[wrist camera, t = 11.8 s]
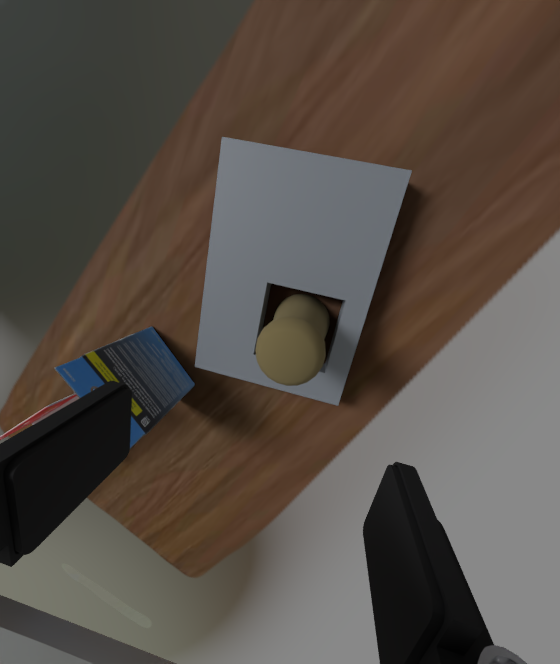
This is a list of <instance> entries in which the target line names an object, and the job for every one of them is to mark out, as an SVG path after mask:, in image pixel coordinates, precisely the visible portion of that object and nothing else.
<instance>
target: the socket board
mask: <svg viewBox="0 0 560 664" xmlns="http://www.w3.org/2000/svg"><path fill="white" fill-rule="evenodd" d="M411 172H412V171H411V170H405V169H400V168H394V167H389V166H383V165H377V164H372V163H366V162H361V161H355V160H349V159H344V158H338V157H332V156H327V155H321V154H316V153H310V152H304V151H299V150H293V149H288V148H282V147H276V146H271V145H265V144H260V143H254V142H248V141H243V140H237V139H232V138H226V137H222V141H221V150H220V158H219V167H218V175H217V183H216V192H215V200H214V209H213V217H212V225H211V234H210V242H209V251H208V259H207V267H206V276H205V284H204V293H203V301H202V309H201V318H200V326H199V335H198V343H197V351H196V360H195V367H197V368H201V369H205V370H208V371H212V372H216V373H219V374H223V375H227V376H230V377H234V378H238V379H241V380H245V381H249V382H252V383H256V384H260V385H263V386H267V387H271V388H275V389H278V390H282V391H286V392H289V393H293V394H297V395H300V396H304V397H308V398H311V399H315V400H319V401H322V402H326V403H330V404H334V405H337V406H338V404H339V401H340V398H341V395H342V392H343V389H344V385H345V382H346V379H347V376H348V373H349V369H350V366H351V363H352V360H353V357H354V354H355V350H356V347H357V344H358V341H359V338H360V334H361V331H362V328H363V325H364V322H365V318H366V315H367V312H368V309H369V306H370V303H371V299H372V296H373V293H374V290H375V287H376V283H377V280H378V277H379V274H380V271H381V268H382V264H383V261H384V258H385V255H386V252H387V248H388V245H389V242H390V239H391V236H392V233H393V229H394V226H395V223H396V220H397V217H398V213H399V210H400V207H401V204H402V201H403V198H404V194H405V191H406V188H407V185H408V182H409V178H410V175H411ZM271 284H276V285H281V286H285V287H289V288H293V289H298V290H302V291H306V292H311V293H315V294H319V295H324V296H328V297H332V298H337V299H341V300H343V302H342V306H341V309H340V313H339V316H338V320H337V324H336V327H335V331H334V334H333V338H332V341H331V345H330V348H329V352H328V355H327V359H326V363H325V364H323V366H322V368H321V369H320V371H319V372H318V374H317V375H316V376H315V377H314V378H312V379H311V380H310V381H308V382H307V383H304V384H301V385H298V386H286V385H282V384H279V383H276V382H274V381H273V380H271V379H269V378H268V377H267V376H266V375H265V374H264V373H263V372H262V370H261V369H260V367H259V365H258V362H257V359H256V352H255V349H256V343H257V338H258V337H259V335H260V333H261V331H262V330H263V325H264V320H265V314H266V309H267V304H268V299H269V294H270V289H271Z"/></svg>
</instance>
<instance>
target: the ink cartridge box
mask: <svg viewBox="0 0 560 664" xmlns="http://www.w3.org/2000/svg"><path fill="white" fill-rule="evenodd" d="M77 399H79V397H78V396H77V395H76V394H73V395H70V396H68V397H66V398H64V399H62V400H59V401H57V402H55V403H53V404H51V405H48V406H46V407H45V408H43V409H42V410H40V411H39V412H37V413H36V414H34V415H33V416H31V417H29V418H28V419H26V420H25V421H23V422H22V423H20V424H18V425H17V426H15V427H14V428H12V429H11V430H9V431H8V432H6V433H5V434H3V435H2V436H0V440H1V439H3V438H5V437H7V436H8V435H10V434H12V433H14V432H16V431H17V430H19V429H21V428H23V427H25V426H27V425H29V424H31V423H32V424H33V425H34V424H36V423H37V422H39V421H41V420H43V419H44V418H46V417H48V416H50V415H51V414H53V413H55V412H57V411H58V410H60V409H62V408H64V407H65V406H67V405H69V404H70V403H72V402H74V401H76V400H77Z"/></svg>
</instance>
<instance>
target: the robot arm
mask: <svg viewBox="0 0 560 664" xmlns="http://www.w3.org/2000/svg"><path fill="white" fill-rule="evenodd" d="M131 408H132V391H131V390H129V386H128V385H126V384H123V383H119V382H116V381H109V382H107V383H105V384H103V385H102V386H100V387H98V388H96V389H95V390H93V391H91V392H90V393H88V394H86V395H84V396H83V397H81V398H79V399H77V400H76V401H74V402H72V403H70V404H69V405H67V406H65V407H64V408H62V409H60V410H58V411H57V412H55V413H53V414H51V415H50V416H48V417H46V418H44V419H43V420H41V421H39V422H37V423H36V424H34V425H32V426H31V427H29V428H27V429H25V430H24V431H22V432H20V433H18V434H17V435H15V436H13V437H11V438H10V439H8V440H6V441H4V442H3V443H1V444H0V563H3V564H6V565H8V566H10V567H12V566H13V565H14V564H15V563H16V562H17V561H18V560H19V559H20V558H21V557H22V556H23V555H26V554H29V553H31V552H32V551H33V550H35V549H36V548H37V547H38V546H39V545H40V544H41V543H42V542H43V541H44V540H45V539H46V538H47V537H48V536H49V535H50V534H51V533H52V532H53V531H54V530H55V529H56V528H57V527H58V526H59V525H60V524H61V523H62V522H63V521H64V520H65V519H66V517H68V515H70V514H71V513H72V511H74V510H75V509H76V508H77V507H78V506H79V505H80V503H82V502H83V501H84V499H86V498H87V496H88V495H89V494H90V493H91V492H92V491H93V490H94V489H95V488H96V487H97V486H98V485H99V484H100V483H101V482H102V481H103V480H104V479H105V478H106V477H107V476H108V475H109V474H110V473H111V472H112V471H113V470H114V469H115V468H116V467H117V466H118V465H119V464H120V463H121V462H122V461H123V460H124V459H125V458H126V457H127V455H128V453H129V450H130V434H131ZM363 537H364V544H365V552H366V559H367V567H368V575H369V582H370V590H371V598H372V605H373V613H374V621H375V629H376V636H377V643H378V651H379V659H380V664H527V663H526V662H525V661H523V660H522V659H521V658H520V657H519V656H517V655H516V654H514V653H512V652H511V651H509V650H507V649H506V648H504V647H499V646H495V645H494V644H493V642H492V639H491V637H490V634H489V632H488V630H487V628H486V625H485V623H484V621H483V618H482V616H481V614H480V611H479V609H478V607H477V604H476V602H475V600H474V597H473V595H472V593H471V590H470V588H469V586H468V583H467V581H466V579H465V576H464V574H463V572H462V569H461V567H460V565H459V562H458V560H457V558H456V555H455V553H454V551H453V548H452V546H451V544H450V541H449V539H448V537H447V534H446V533H445V530H444V528H443V526H442V524H441V523H440V522H439V521H438V520H437V518H436V516H435V513H434V511H433V508H432V506H431V504H430V501H429V499H428V497H427V494H426V492H425V490H424V487H423V485H422V483H421V480H420V477H419V475H418V473H417V470H416V469H415V468H414V467H413V466H409V465H406V464H402V463H399V462H395V463H394V464H393V465H388V466H387V468H386V471H385V473H384V476H383V478H382V480H381V483H380V485H379V488H378V490H377V493H376V495H375V497H374V500H373V502H372V505H371V507H370V510H369V512H368V514H367V517H366V519H365V522H364V526H363ZM0 664H176V663H173V662H171V661H168V660H165V659H163V658H160V657H158V656H155V655H153V654H150V653H148V652H145V651H143V650H140V649H138V648H135V647H133V646H130V645H127V644H125V643H122V642H120V641H117V640H115V639H112V638H109V637H107V636H105V635H102V634H99V633H97V632H94V631H91V630H89V629H87V628H84V627H82V626H79V625H77V624H74V623H71V622H69V621H66V620H63V619H61V618H58V617H56V616H53V615H50V614H48V613H45V612H43V611H40V610H37V609H35V608H32V607H30V606H27V605H25V604H22V603H19V602H17V601H14V600H12V599H9V598H7V597H4V596H1V595H0Z"/></svg>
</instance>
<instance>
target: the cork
mask: <svg viewBox="0 0 560 664" xmlns="http://www.w3.org/2000/svg"><path fill="white" fill-rule="evenodd" d="M329 326H330V319H329V314H328V311H327V309H326V307H325V306H324V305H323V303H322V302H321V301H320V300H318V299H317V298H315V297H313V296H311V295H307V294H295V295H292V296H290V297H287V298H286V299H285V300H283V301H282V302H281V303H280V304H279V306H278V308H277V309H276V311H275V315H274V319H273V321H271V322H270V323H269V324H268V325H267V326H266V327H264V329H263V330H262V331H261V333H260V335H259V337H258V338H257V343H256V349H255V352H256V359H257V362H258V365H259V367H260V369H261V370H262V372H263V373H264V374H265V375H266V376H267V377H268V378H269V379H271V380H273V381H274V382H276V383H279V384H282V385H286V386H298V385H301V384H304V383H307V382H308V381H310V380H311V379H312V378H314V377H315V376H316V375H317V374H318V372H319V371H320V369H321V368H322V366H323V364H324V360H325V357H326V351H325V341H324V339H325V337H326V335H327V333H328V329H329Z"/></svg>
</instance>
